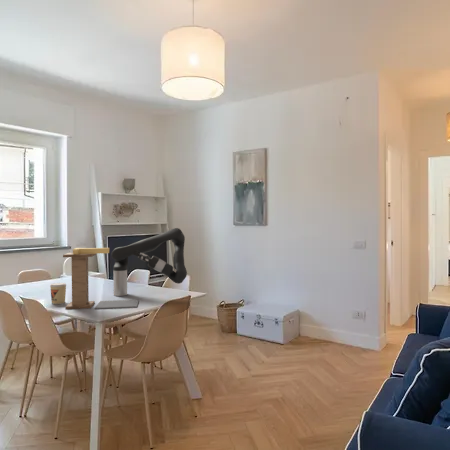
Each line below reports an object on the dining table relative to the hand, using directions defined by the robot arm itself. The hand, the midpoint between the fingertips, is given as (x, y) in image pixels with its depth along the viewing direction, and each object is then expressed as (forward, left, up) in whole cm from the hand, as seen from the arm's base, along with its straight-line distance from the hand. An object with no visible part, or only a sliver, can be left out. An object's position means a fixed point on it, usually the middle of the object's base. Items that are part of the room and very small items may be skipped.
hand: (133, 251), depth 245 cm
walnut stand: (+3, -32, -32) cm, 45 cm away
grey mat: (+3, -10, -32) cm, 34 cm away
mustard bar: (+3, -25, 0) cm, 25 cm away
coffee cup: (-10, -48, -32) cm, 59 cm away
